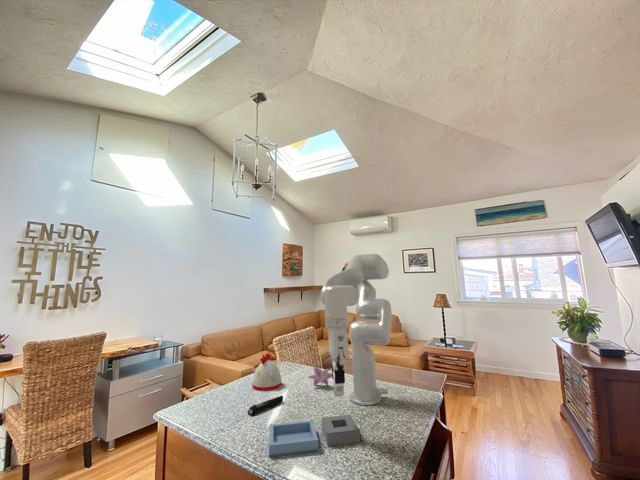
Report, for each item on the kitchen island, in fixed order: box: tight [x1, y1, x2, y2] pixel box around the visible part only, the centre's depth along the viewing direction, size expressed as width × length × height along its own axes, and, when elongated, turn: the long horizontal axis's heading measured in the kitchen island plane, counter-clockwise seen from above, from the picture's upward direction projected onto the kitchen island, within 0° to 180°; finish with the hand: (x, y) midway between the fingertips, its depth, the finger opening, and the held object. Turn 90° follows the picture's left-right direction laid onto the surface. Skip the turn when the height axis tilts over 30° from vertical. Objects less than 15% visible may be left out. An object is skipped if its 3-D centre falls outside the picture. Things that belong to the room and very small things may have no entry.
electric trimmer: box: [247, 395, 284, 417], centre depth 107 cm, size 4×16×3 cm, turn 136°
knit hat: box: [251, 352, 282, 392], centre depth 133 cm, size 14×14×15 cm
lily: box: [307, 366, 332, 391], centre depth 128 cm, size 12×12×10 cm
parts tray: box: [268, 419, 319, 458], centre depth 83 cm, size 14×12×3 cm
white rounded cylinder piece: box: [332, 361, 345, 397], centre depth 90 cm, size 3×3×10 cm
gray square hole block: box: [320, 414, 360, 447], centre depth 87 cm, size 10×10×4 cm
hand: (338, 380), depth 90 cm, fingers closed on white rounded cylinder piece, 3 cm apart
